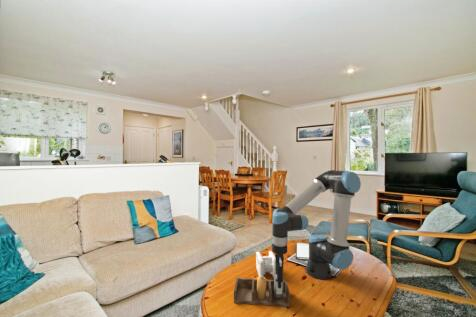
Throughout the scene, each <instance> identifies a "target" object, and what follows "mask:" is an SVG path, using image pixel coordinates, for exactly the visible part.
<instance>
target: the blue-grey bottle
mask: <svg viewBox="0 0 476 317" xmlns="http://www.w3.org/2000/svg"><path fill="white" fill-rule="evenodd" d="M276 279H277V275H275V276H274V277H273V280H274V296H275V297H277V298H282V297H283V282H282V294H276V283H277V281H276ZM283 281H285V280H284V276H283Z"/></svg>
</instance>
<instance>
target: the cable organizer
mask: <svg viewBox="0 0 476 317" xmlns="http://www.w3.org/2000/svg"><path fill="white" fill-rule="evenodd" d="M255 261H256V262H255V268H256V271H257V274H258V277H259V276H261V275H262V276H264V275H266V273H269V275H272V277H273V278H274V276H275V275H277V274H276V270H275V269H276V261H275V253H274V252H273V251H272V250H269V251H268V255H264V256H262V254H261V251H255Z"/></svg>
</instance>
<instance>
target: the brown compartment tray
mask: <svg viewBox="0 0 476 317" xmlns="http://www.w3.org/2000/svg"><path fill="white" fill-rule="evenodd" d="M233 303H235V304H236V303H237V304H247V305H249V304H250V305H261V306H262V305H263V306H275V307H289V308H290V307H291V293H290V289H289V283H288V281H287V280H283V297H282V298H277V297H275V296H274V279H266V298H265V299H259V298H257V278H246V277H245V278H244V277H236V278H235V283H234V289H233Z"/></svg>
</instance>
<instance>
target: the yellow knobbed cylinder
mask: <svg viewBox="0 0 476 317" xmlns="http://www.w3.org/2000/svg"><path fill="white" fill-rule="evenodd" d="M256 279H257V298H259V299H265V298H266V280H267V278H266V277H265V275H263V276H262V275H261V276H259V275H258V276H257V278H256Z"/></svg>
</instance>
